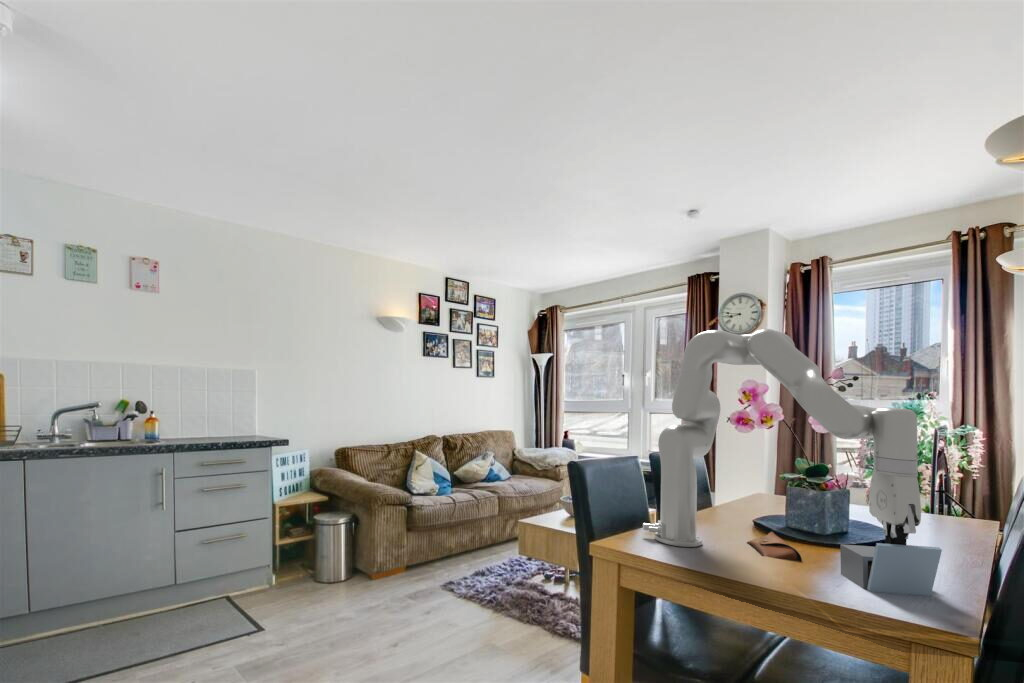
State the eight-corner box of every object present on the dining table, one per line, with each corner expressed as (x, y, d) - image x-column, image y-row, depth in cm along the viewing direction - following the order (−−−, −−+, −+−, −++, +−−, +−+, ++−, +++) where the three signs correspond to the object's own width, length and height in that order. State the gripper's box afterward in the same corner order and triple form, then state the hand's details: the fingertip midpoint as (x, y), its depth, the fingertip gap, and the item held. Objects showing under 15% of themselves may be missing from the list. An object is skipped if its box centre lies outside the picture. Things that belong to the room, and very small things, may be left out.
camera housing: (863, 592, 111) (862, 556, 111) (840, 577, 120) (840, 544, 120) (937, 598, 109) (936, 561, 110) (909, 582, 118) (908, 549, 119)
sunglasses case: (743, 541, 147) (756, 521, 147) (766, 556, 146) (779, 536, 146) (766, 561, 129) (780, 538, 129) (792, 579, 128) (807, 556, 128)
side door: (869, 591, 110) (878, 545, 107) (866, 588, 110) (876, 543, 108) (930, 596, 108) (941, 549, 106) (928, 593, 109) (939, 547, 106)
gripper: (856, 460, 118) (856, 544, 117) (899, 471, 104) (900, 567, 102) (891, 463, 118) (892, 547, 116) (939, 473, 103) (941, 570, 101)
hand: (895, 556), depth 109 cm, fingers closed
